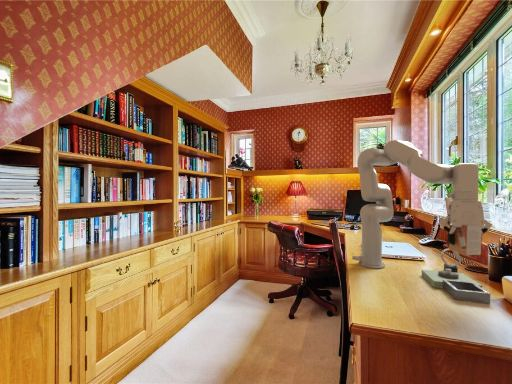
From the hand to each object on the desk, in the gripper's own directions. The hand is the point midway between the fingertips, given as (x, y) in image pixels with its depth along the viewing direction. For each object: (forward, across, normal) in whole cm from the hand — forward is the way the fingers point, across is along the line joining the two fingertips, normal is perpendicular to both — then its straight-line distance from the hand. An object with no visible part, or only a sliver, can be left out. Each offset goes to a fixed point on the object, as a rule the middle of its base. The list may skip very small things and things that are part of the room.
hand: (464, 244), depth 97 cm
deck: (+19, 0, +14) cm, 23 cm away
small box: (+3, 0, 0) cm, 3 cm away
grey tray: (+19, 0, 0) cm, 19 cm away
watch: (+19, +7, +32) cm, 38 cm away
